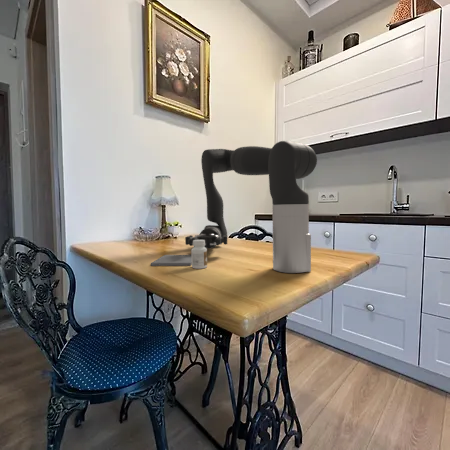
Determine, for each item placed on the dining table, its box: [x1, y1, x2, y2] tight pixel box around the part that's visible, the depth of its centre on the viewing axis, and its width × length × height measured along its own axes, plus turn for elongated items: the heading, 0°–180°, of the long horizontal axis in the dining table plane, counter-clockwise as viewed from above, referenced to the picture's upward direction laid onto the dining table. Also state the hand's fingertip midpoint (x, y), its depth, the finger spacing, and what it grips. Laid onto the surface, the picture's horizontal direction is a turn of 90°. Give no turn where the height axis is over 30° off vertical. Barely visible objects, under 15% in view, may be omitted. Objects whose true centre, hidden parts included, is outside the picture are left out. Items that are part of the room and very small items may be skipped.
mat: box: [150, 254, 192, 267], centre depth 83 cm, size 12×14×1 cm
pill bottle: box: [190, 240, 208, 270], centre depth 73 cm, size 4×4×8 cm
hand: (203, 242), depth 82 cm, fingers open, 8 cm apart
